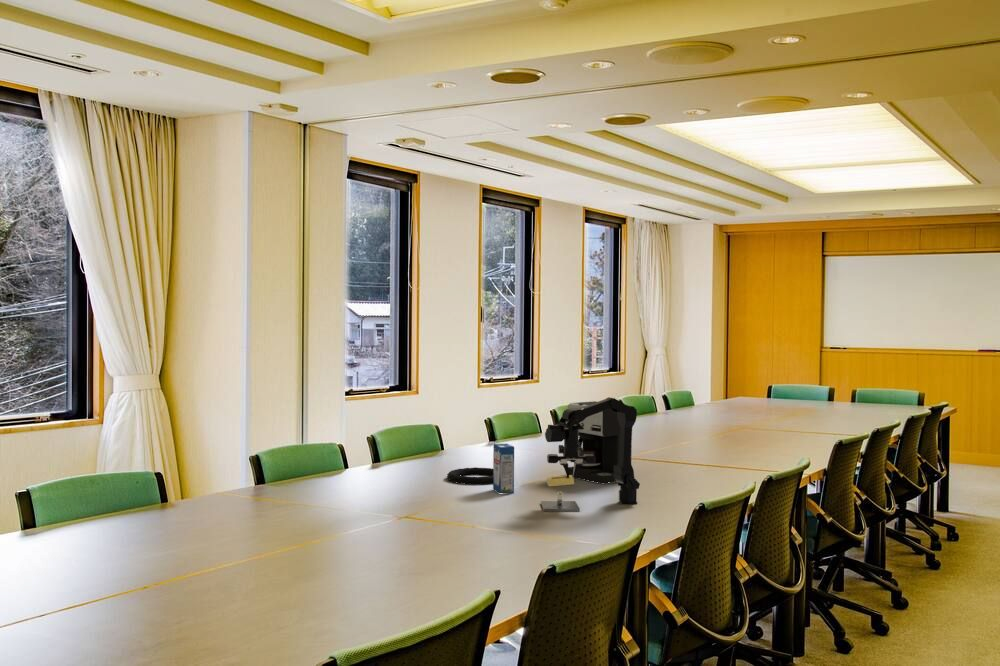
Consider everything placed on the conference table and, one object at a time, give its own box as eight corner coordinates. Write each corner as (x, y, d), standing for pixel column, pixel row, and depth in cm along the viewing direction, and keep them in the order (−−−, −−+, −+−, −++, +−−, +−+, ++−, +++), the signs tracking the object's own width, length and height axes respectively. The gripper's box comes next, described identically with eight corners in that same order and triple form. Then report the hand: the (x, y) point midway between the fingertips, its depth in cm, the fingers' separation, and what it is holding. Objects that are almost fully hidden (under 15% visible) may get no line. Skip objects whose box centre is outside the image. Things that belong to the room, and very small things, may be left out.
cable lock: (455, 465, 415) (516, 468, 409) (455, 473, 415) (516, 476, 410) (439, 475, 388) (505, 478, 382) (439, 484, 388) (505, 487, 382)
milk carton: (513, 493, 368) (514, 446, 367) (500, 494, 366) (500, 447, 365) (506, 488, 377) (507, 443, 377) (493, 489, 375) (493, 443, 375)
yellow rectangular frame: (572, 480, 344) (571, 474, 344) (574, 484, 338) (573, 477, 338) (547, 483, 344) (546, 477, 344) (548, 486, 338) (548, 480, 338)
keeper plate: (575, 503, 349) (575, 488, 348) (579, 511, 335) (579, 496, 334) (540, 503, 348) (540, 488, 348) (543, 511, 334) (543, 496, 334)
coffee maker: (560, 475, 412) (561, 401, 411) (590, 470, 423) (591, 399, 423) (601, 484, 389) (601, 407, 388) (631, 479, 401) (632, 404, 400)
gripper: (591, 438, 349) (591, 476, 350) (545, 438, 349) (545, 476, 349) (595, 442, 338) (595, 481, 339) (548, 442, 337) (548, 481, 338)
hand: (570, 480), depth 341 cm, fingers closed on yellow rectangular frame, 2 cm apart
